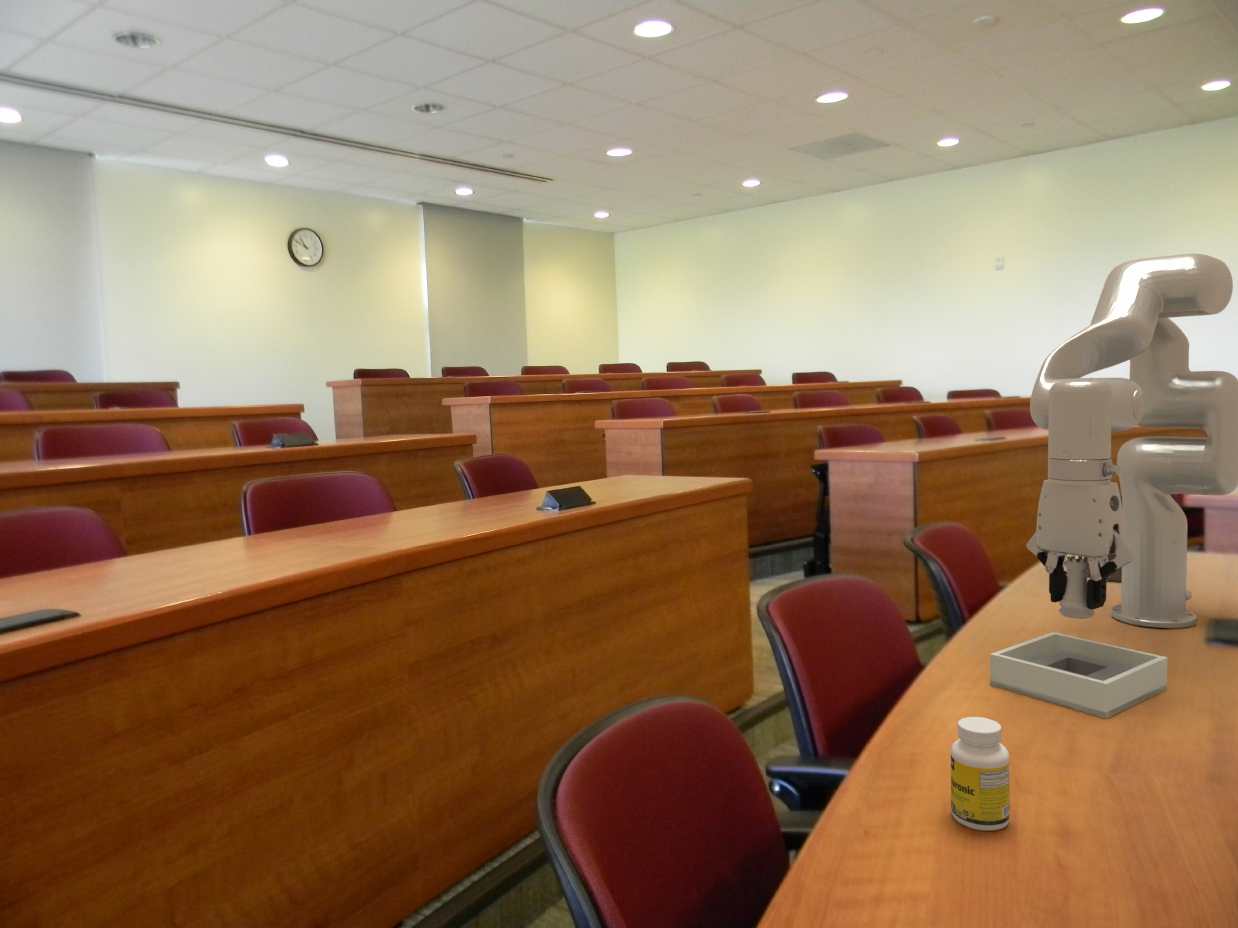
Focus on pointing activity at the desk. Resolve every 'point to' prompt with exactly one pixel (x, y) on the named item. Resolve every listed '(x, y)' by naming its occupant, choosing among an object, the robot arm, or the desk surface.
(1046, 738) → the desk surface
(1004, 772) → the supplement bottle
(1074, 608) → the rook chess piece
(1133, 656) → the box
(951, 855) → the desk surface
